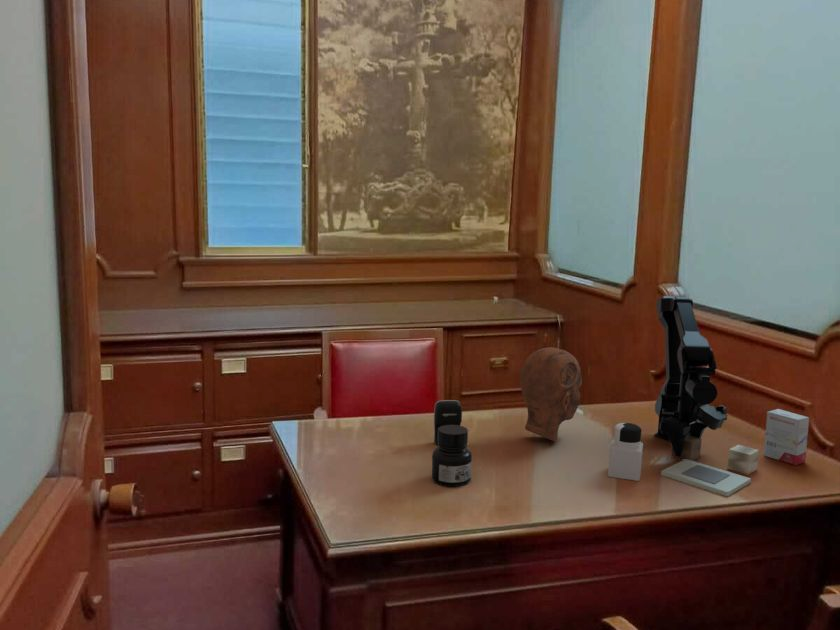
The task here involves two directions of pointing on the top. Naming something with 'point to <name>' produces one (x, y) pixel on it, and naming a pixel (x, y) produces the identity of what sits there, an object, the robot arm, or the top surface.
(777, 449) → the ink box
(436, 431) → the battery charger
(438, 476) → the ink bottle
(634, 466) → the medicine bottle
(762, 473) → the top surface
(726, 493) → the board
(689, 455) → the walnut cube
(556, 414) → the head sculpture
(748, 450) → the maple cube
